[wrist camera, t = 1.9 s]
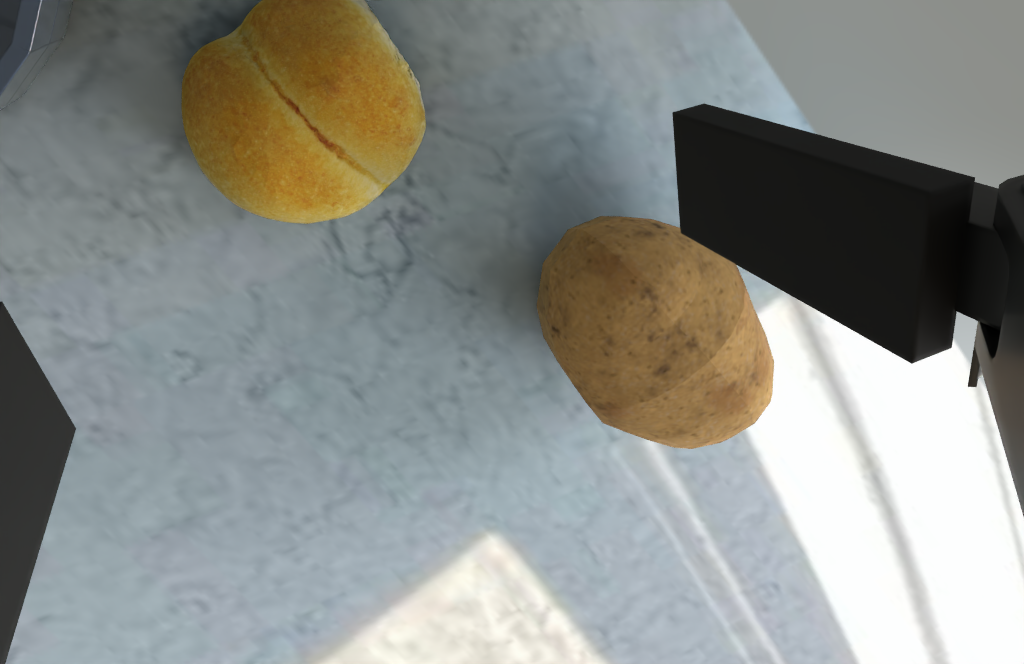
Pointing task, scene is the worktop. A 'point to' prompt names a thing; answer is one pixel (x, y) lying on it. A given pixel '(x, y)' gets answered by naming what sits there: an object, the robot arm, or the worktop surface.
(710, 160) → the robot arm
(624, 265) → the potato
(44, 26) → the blue grey bowl
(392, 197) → the worktop surface
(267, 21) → the bread roll
